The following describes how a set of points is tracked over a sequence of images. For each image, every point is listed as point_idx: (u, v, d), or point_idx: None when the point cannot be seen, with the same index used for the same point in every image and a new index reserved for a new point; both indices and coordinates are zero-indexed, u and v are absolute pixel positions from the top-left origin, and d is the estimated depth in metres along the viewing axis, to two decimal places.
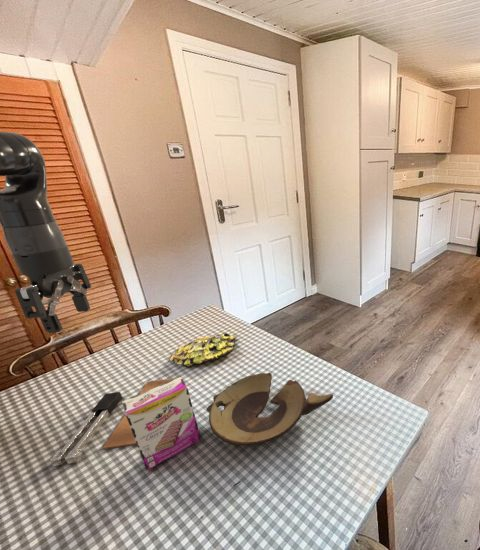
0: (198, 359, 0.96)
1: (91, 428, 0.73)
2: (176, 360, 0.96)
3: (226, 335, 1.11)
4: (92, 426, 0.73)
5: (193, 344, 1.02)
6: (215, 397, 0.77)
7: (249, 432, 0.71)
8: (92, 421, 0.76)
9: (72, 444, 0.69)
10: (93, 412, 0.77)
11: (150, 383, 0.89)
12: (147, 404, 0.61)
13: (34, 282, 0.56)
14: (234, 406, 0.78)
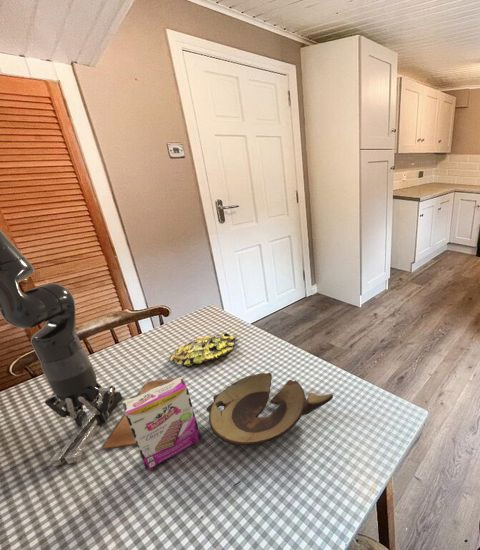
0: (198, 359, 0.96)
1: (91, 428, 0.73)
2: (176, 360, 0.96)
3: (226, 335, 1.11)
4: (92, 426, 0.73)
5: (193, 344, 1.02)
6: (215, 397, 0.77)
7: (249, 432, 0.71)
8: (92, 421, 0.76)
9: (72, 444, 0.69)
10: None
11: (150, 383, 0.89)
12: (147, 404, 0.61)
13: None
14: (234, 406, 0.78)
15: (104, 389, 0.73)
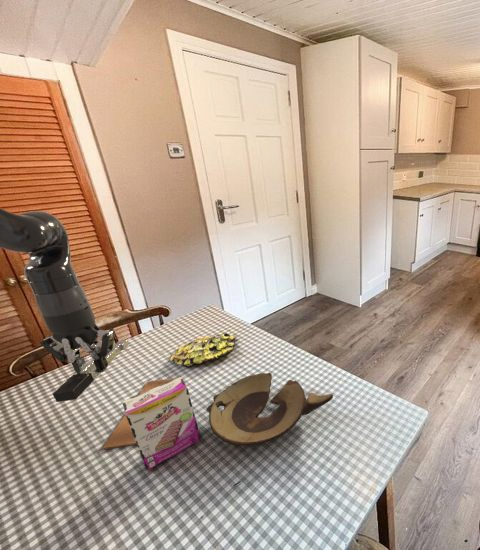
0: (198, 359, 0.96)
1: (92, 359, 0.73)
2: (176, 360, 0.96)
3: (226, 335, 1.11)
4: (91, 361, 0.72)
5: (193, 344, 1.02)
6: (215, 397, 0.77)
7: (249, 432, 0.71)
8: None
9: None
10: (90, 373, 0.68)
11: (150, 383, 0.89)
12: (147, 404, 0.61)
13: (95, 330, 0.67)
14: (234, 406, 0.78)
15: (50, 336, 0.67)
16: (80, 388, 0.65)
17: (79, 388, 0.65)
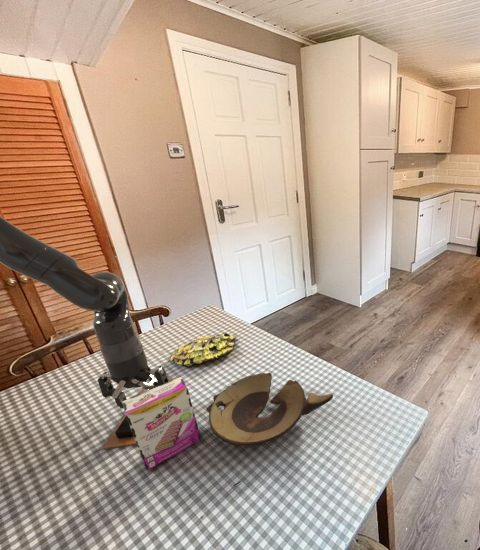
0: (198, 359, 0.96)
1: None
2: (176, 360, 0.96)
3: (226, 335, 1.11)
4: None
5: (193, 344, 1.02)
6: (215, 397, 0.77)
7: (249, 432, 0.71)
8: None
9: None
10: None
11: None
12: (147, 404, 0.61)
13: (146, 370, 0.76)
14: (234, 406, 0.78)
15: (108, 374, 0.75)
16: None
17: None
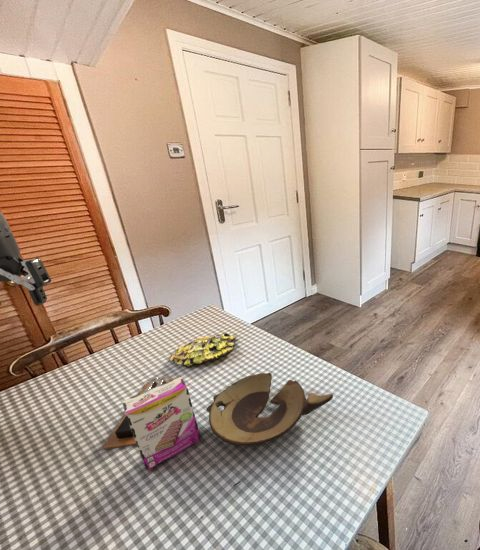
0: (198, 359, 0.96)
1: None
2: (176, 360, 0.96)
3: (226, 335, 1.11)
4: None
5: (193, 344, 1.02)
6: (215, 397, 0.77)
7: (249, 432, 0.71)
8: None
9: None
10: None
11: None
12: (147, 404, 0.61)
13: (16, 260, 0.63)
14: (234, 406, 0.78)
15: None
16: None
17: None
